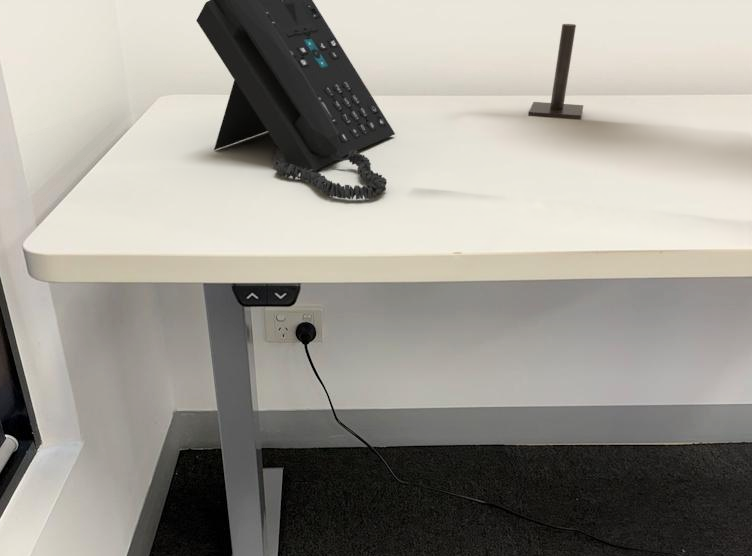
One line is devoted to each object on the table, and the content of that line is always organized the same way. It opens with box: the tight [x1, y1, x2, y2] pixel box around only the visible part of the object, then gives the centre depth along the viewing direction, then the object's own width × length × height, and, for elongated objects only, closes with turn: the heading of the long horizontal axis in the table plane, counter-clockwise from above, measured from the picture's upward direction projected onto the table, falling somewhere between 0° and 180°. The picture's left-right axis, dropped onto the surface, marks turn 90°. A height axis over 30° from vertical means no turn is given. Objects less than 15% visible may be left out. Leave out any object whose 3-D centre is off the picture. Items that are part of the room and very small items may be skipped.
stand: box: [527, 23, 584, 121], centre depth 116 cm, size 8×8×13 cm
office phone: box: [195, 0, 396, 200], centre depth 92 cm, size 29×28×20 cm
